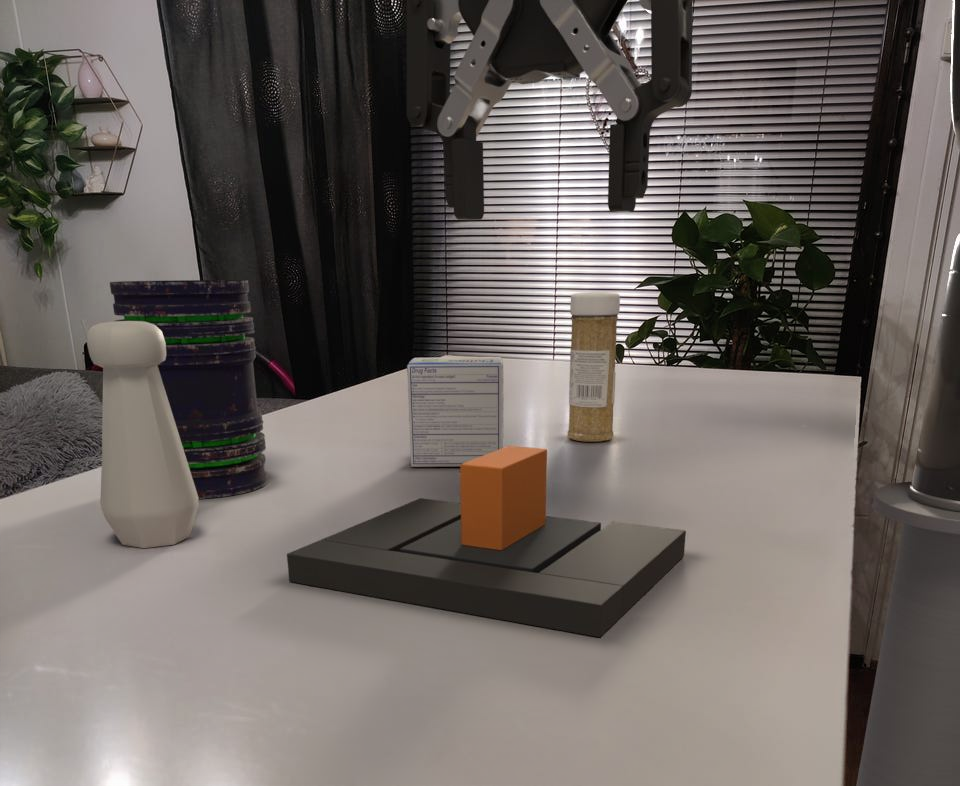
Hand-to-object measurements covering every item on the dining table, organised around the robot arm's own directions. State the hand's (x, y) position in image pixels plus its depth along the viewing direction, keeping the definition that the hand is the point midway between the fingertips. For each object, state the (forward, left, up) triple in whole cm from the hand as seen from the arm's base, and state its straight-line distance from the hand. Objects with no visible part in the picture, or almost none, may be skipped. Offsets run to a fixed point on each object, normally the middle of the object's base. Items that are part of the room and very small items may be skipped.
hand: (542, 215), depth 47 cm
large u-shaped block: (+3, -1, -18) cm, 19 cm away
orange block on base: (+2, -1, -18) cm, 18 cm away
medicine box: (-22, -17, -18) cm, 33 cm away
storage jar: (-6, -31, -18) cm, 37 cm away
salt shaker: (+7, -23, -18) cm, 30 cm away
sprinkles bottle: (-38, -11, -18) cm, 43 cm away
